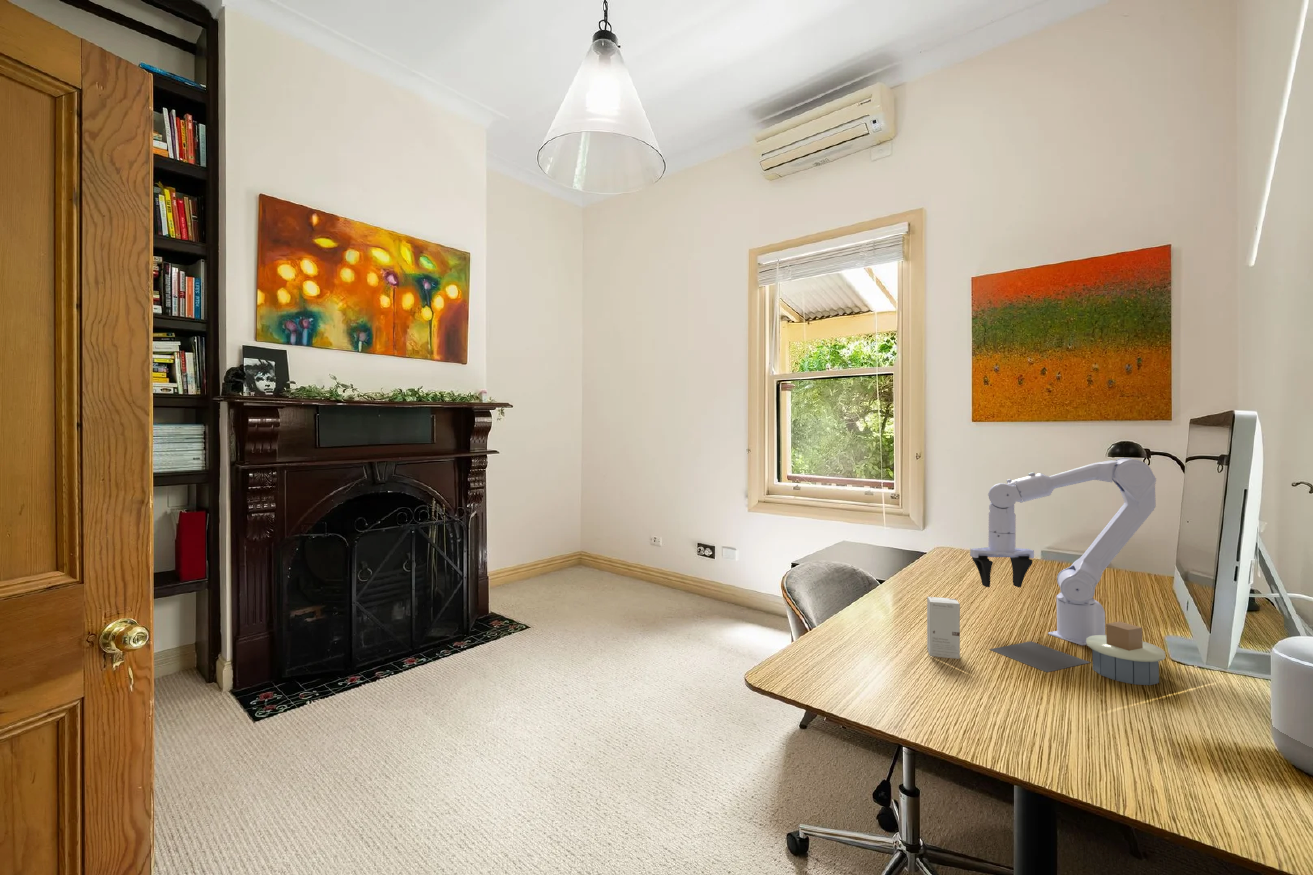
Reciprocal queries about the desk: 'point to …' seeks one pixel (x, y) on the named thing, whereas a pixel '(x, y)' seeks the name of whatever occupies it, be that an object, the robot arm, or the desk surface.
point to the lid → (1125, 643)
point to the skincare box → (943, 627)
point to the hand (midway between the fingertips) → (1001, 586)
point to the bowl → (1126, 669)
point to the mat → (1039, 656)
